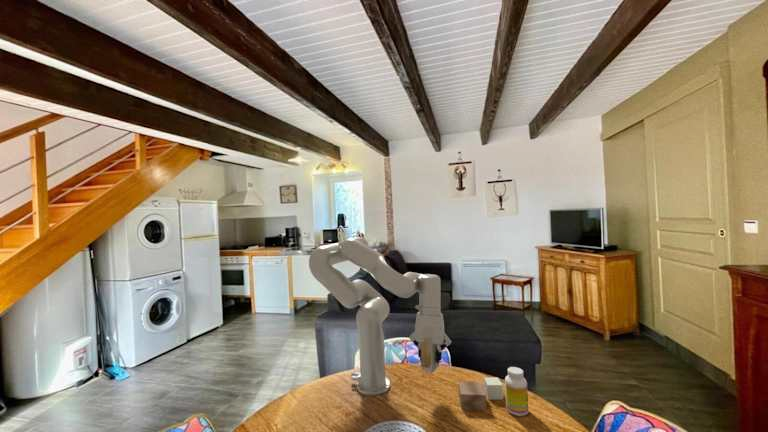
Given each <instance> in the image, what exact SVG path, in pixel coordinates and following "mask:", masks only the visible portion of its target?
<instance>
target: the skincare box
mask: <svg viewBox="0 0 768 432" xmlns="http://www.w3.org/2000/svg"><path fill="white" fill-rule="evenodd" d="M437 350H438V349H437V345H434V344H433V343H432V338H428V337H425V338H424V343H421V361H420V371H423V372H425V373H429V374H433V373H434V372H435V371H436V370H437V368H438V369H439V367H440V363H439V364H438V363H437Z"/></svg>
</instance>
